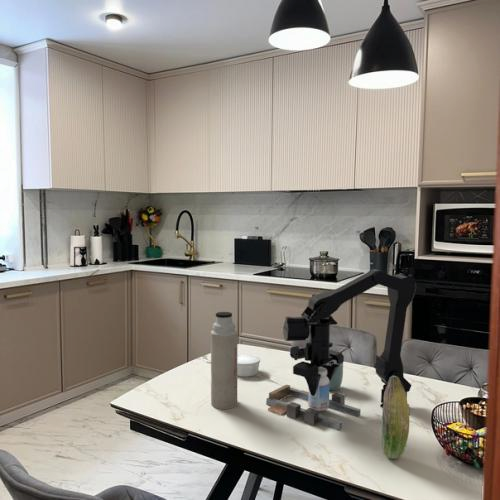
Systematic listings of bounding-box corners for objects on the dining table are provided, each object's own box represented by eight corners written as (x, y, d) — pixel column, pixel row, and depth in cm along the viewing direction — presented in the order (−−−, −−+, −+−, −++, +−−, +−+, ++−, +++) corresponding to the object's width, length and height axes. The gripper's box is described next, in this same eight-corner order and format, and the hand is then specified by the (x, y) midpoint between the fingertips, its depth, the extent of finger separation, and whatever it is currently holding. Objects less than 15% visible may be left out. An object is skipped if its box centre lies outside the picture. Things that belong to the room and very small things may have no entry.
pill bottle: (328, 403, 135) (328, 366, 134) (329, 412, 129) (330, 373, 128) (307, 402, 136) (308, 365, 135) (308, 411, 130) (309, 372, 129)
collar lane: (365, 411, 133) (365, 400, 133) (333, 434, 119) (333, 421, 119) (294, 389, 149) (294, 379, 149) (259, 407, 136) (259, 395, 135)
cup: (335, 394, 145) (336, 364, 144) (314, 388, 150) (314, 359, 149) (346, 387, 151) (347, 357, 151) (325, 381, 156) (326, 353, 155)
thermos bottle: (239, 399, 141) (240, 310, 139) (233, 410, 134) (233, 316, 131) (215, 397, 143) (214, 309, 141) (207, 407, 135) (207, 315, 133)
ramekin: (224, 370, 168) (224, 356, 167) (251, 365, 172) (251, 352, 172) (236, 380, 157) (236, 365, 157) (265, 375, 162) (265, 361, 162)
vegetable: (408, 455, 109) (411, 374, 107) (406, 469, 103) (409, 383, 102) (382, 450, 112) (385, 371, 110) (379, 463, 106) (381, 379, 104)
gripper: (313, 328, 143) (312, 376, 144) (277, 341, 129) (277, 394, 130) (345, 334, 136) (344, 385, 137) (311, 348, 122) (310, 405, 123)
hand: (318, 391), depth 132 cm, fingers closed on pill bottle, 6 cm apart
